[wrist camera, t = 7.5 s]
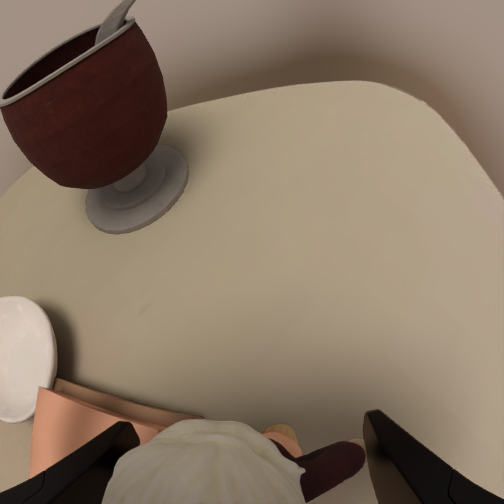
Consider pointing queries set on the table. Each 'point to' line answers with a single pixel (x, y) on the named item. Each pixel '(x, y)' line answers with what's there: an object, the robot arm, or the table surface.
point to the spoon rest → (24, 357)
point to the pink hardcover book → (86, 420)
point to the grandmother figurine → (229, 466)
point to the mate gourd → (100, 123)
